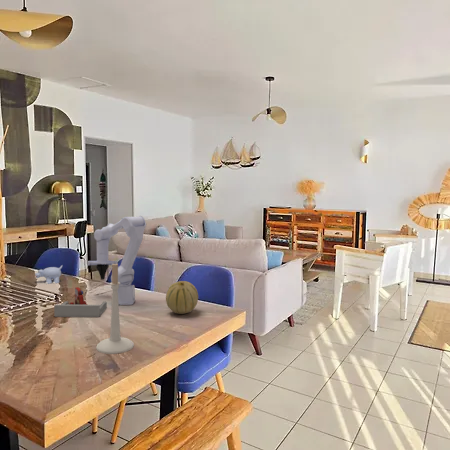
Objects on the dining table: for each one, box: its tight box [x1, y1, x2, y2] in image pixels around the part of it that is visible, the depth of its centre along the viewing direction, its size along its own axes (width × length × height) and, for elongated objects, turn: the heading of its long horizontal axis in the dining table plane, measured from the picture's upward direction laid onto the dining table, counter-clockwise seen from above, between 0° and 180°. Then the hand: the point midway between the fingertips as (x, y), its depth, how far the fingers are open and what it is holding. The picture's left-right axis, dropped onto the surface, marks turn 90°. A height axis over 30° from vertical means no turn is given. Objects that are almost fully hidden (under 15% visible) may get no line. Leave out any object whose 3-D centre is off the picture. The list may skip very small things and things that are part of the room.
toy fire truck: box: [69, 287, 89, 305], centre depth 184 cm, size 7×12×10 cm, turn 30°
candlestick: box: [96, 263, 135, 355], centre depth 144 cm, size 13×13×30 cm
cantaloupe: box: [165, 280, 199, 315], centre depth 185 cm, size 15×15×15 cm
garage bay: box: [53, 300, 108, 318], centre depth 184 cm, size 19×14×5 cm
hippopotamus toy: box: [35, 264, 63, 285], centre depth 241 cm, size 11×15×10 cm
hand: (102, 279), depth 209 cm, fingers closed
